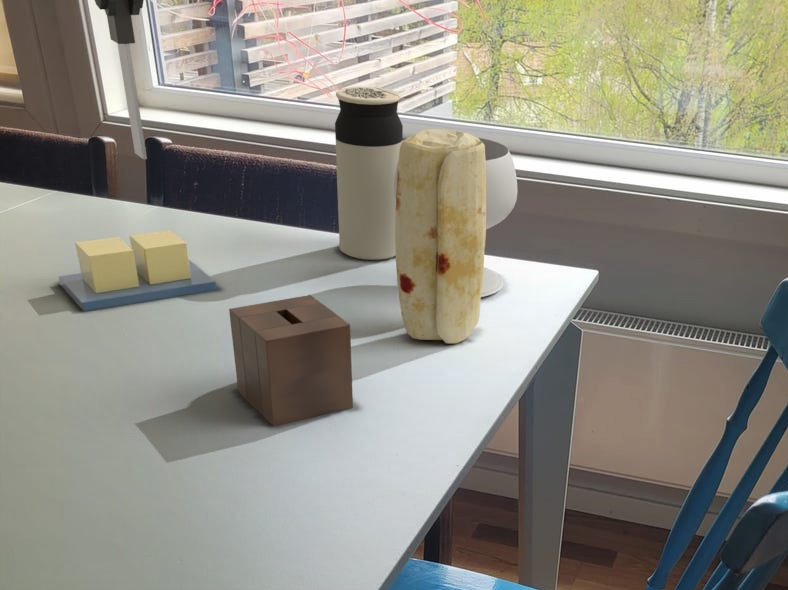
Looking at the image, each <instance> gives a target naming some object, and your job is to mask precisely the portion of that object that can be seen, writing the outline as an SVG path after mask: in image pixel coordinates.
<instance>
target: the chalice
mask: <svg viewBox="0 0 788 590" xmlns="http://www.w3.org/2000/svg"><path fill="white" fill-rule="evenodd" d="M477 138H478V139H479V140H480V141H482V142H483V144H484V146H485V161H486V230H488V229H490V228H492V227H494V226H496V225H498V224H500V223H501V222H503V221H504V220H506V218H507V217H508V216H509V215H510V213H511V212H512V211H513V209H514V208H515V205H516V203H517V200H518V191H519V190H518V179H517V172H516V167H515V164H514V160H513V157H512V154H511V152H510V150H509V148H508V147H507V146H505V144H502V143H500V142H497V141H494V140H491V139H488V138H487V139H486V138H481V137H477ZM398 161H399V160H398ZM397 175H398V163H397V167H396V172H395V180H394V196H395V199H396V193H397ZM503 286H504V280H503V278H502V277H501V276H500V275H499V274H498V273H497V272H495V271H493V270H492V269H489V268H488V267H484V270H483V281H482V290H481V298H484V297H488V296H490V295H494V294H495V293H496V294H497V292H499V291H501V289H502V288H503Z"/></svg>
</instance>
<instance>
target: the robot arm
mask: <svg viewBox="0 0 788 590" xmlns="http://www.w3.org/2000/svg"><path fill="white" fill-rule="evenodd" d="M128 1H129V8H130V14H131V16H139V15H140V13H141V9H143V6H144V0H128ZM94 2H95V5H96V6H97V8H98V9H99V10H103V11H104V12H105V15H106V17H107V16H115V15H116V8H117V0H94Z"/></svg>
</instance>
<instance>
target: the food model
mask: <svg viewBox="0 0 788 590" xmlns="http://www.w3.org/2000/svg"><path fill="white" fill-rule="evenodd" d="M478 138H479V137H478V136H475V135H473V134H472V133H471V134H470V133H468V132H464V131H457V130H454V129H453V130H452V129H447V128H429V129H428V128H427V129H422V130H419V131H418V132H416V133H414V134H412V135H410V136H409V137H407V138H406V139H404V140H403V142H402V144H401V146H400V151H399V161H398V175H397V193H396V209H395V255H396V256H395V267H396V279H397V280H396V281H397V287H398V297H399V305H400V312H401V317H402V322H403V325H404V329H405V332H406V333H407V335H408V336H409V337H410V338H412V339H415V340H425V341H426V340H427V341H430V340H431V341H443V342H444V343H445V344H452V345H453V344H455V345H457V344H459V343H460V342H463V341H465V340H467V339H468V338H469V336H471V334H472V333H473V332H474V330H475V328H476V327H477V326H478V323H479V320H480V316H481V315H480V314H481V301H482V297H481V290H482V281H483V270H484V268H485V249H486V239H487V229H486V161H485V146H484V144H483V142H482V141H480V140H479V139H478Z"/></svg>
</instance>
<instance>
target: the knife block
mask: <svg viewBox="0 0 788 590" xmlns="http://www.w3.org/2000/svg"><path fill="white" fill-rule="evenodd" d="M228 311H229V321H230V330H231V338H232V349H233V355H234V357H233V358H234V367H235V374H236V383H237V392H238V393H239V394H240V395H241V396H242V397H243V398H244V399H245V400H246V401H247V402H248V403H249V404H250V405H251V406H252V407H253V408H254V409H255V410H256V412H258V413H259V414H260V415H261V417H263V418H264V419H265V420H266V421H267V422H268V423H269V424H270V425H271V426H272V427H277V426H278V427H279V426H282V425H287V424H290V423H295V422H298V421H303V420H308V419H312V418H316V417H320V416H324V415H329V414H334V413H338V412H342V411H346V410H350V409H353V408H354V399H353V398H354V397H353V396H354V395H353V371H352V370H353V369H352V368H353V367H352V339H351V337H352V336H351V324H350V323H348V321H346V320H345V319H343V318H342V317H341V316H339V315H338V314H337V313H336V312H334V311H333V310H331V309H330V308H329V307H327V306H326V305H325V304H323V303H322V302H320V301H319V300H317V298H315V297H314V296H312V295H311V294H307V295H302V296H296V297H290V298H284V299H278V300H272V301H266V302H261V303H256V304H249V305H244V306H237V307H233V308H229V309H228Z"/></svg>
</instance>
